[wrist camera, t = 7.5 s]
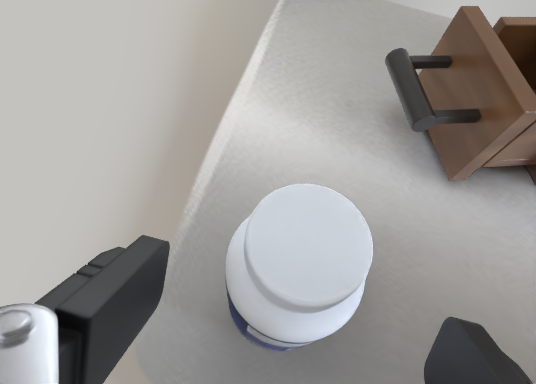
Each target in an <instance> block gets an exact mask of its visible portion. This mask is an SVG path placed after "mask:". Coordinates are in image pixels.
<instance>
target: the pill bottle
mask: <svg viewBox="0 0 536 384" xmlns="http://www.w3.org/2000/svg"><path fill="white" fill-rule="evenodd" d="M372 257H373V242H372V236H371V233H370V230H369V227H368V225H367V223H366V221H365V219H364V217H363V215H362V214H361V213H360V211H359V210H358V209H357V208H356V207H355V205H354V204H353V203H352V202H351V201H349V200H348V199H347V198H346V197H345V196H343V195H341V194H340V193H338V192H336V191H334V190H332V189H330V188H327V187H324V186H320V185H316V184H305V183H300V184H292V185H288V186H284V187H282V188H279V189H277V190H275V191H273V192H272V193H270V194H269V195H267V196H266V197H265V198H264V199H262V200H261V201H260V203H259V204H258V205H257V206H256V208H255V209H254V211H253V212H252V214H251V215H250V216H249V217H248V218H246V219H245V220H244V221H243V222H242V224H241V225H240V226H239V227H238V229H237V230H236V232H235V233H234V235H233V237H232V239H231V241H230V244H229V247H228V250H227V255H226V264H225V278H226V287H227V296H228V303H229V309H230V313H231V316H232V318H233V321H234V323H235V325H236V327H237V328H238V330H239V331H240V332H241V334H242V335H243V336H244V337H245V338H246V339H247V340H249V341H250V342H251V343H253V344H255V345H256V346H258V347H261V348H263V349H267V350H271V351H288V350H293V349H296V348H299V347H302V346H304V345H307V344H310V343H312V342H315V341H318V340H320V339H323V338H325V337H327V336H329V335H331V334H333V333H334V332H335V331H337V330H338V329H339V328H341V327H342V326H343V325H344V324H345V323H346V322H347V321H348V320H349V319H350V318H351V317H352V315H353V314H354V312H355V311H356V309H357V307H358V305H359V303H360V301H361V298H362V295H363V291H364V286H365V278H366V277H367V274H368V272H369V270H370V267H371V263H372Z"/></svg>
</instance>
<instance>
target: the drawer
mask: <svg viewBox="0 0 536 384" xmlns="http://www.w3.org/2000/svg"><path fill="white" fill-rule="evenodd" d="M385 63H386V66H387V68H388V71H389V73H390V76H391V79H392V81H393V84H394V86H395V89H396V91H397V94H398V96H399V99H400V102H401V104H402V107H403V109H404V112H405V114H406V117H407V120H408V122H409V125H410V127H411V129H412V130H413V131H415V132H421V131H425V130H428V132H429V134H430V137H431V139H432V141H433V144H434V146H435V149H436V151H437V153H438V156H439V158H440V161H441V163H442V165H443V168H444V170H445V172H446V175H447V177H448V180H449V181H451V180H465V179H466V178H467V177H469V176H470V175H471V174H472V173H473V172H474V171H476V170H477V169H478V168H479V167H480V166H481V167H497V166H515V165H533V164H536V17H501V18H500V19H499V20H498V21H497V23H496V24H495V25H494V27H493V28H492V27H491V25H490V24H489V22H488V20H487V19H486V17H485V16H484V14H483V13H482V11H481V10H480V8H479V7H478V6H461V7H460V9H459V10H458V12H457V14H456V15H455V17H454V18H453V20H452V22H451V23H450V25H449V27H448V28H447V30H446V31H445V33H444V35H443V36H442V38H441V40H440V41H439V43H438V44H437V46H436V48H435V49H434V51H433V53H432V54H431V56H409V55H408V52H407V50H405V49H403V48H398V49H395V50H393V51H391V52H390V53H389V54H388V55H387V56H386V59H385ZM415 69H422V70H421V72H420V74H419V75H417V73H416V70H415Z"/></svg>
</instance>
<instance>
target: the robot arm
mask: <svg viewBox="0 0 536 384" xmlns="http://www.w3.org/2000/svg"><path fill="white" fill-rule="evenodd" d="M169 249H170V245H169V242H168V241H164V240H160V239H156V238H153V237H149V236H145V235H142V236H141V237H139V238H138V239H137V240H136V241H134V242H133V243H132V244H131V245H130V246H128V247H127V248H126V249H125V248H122V247H117V248H114V249H111V250H109V251H106V252H103V253H101V254H99V255H98V256H96V257H95V258H94V259H92V260H91V261H90V262H89V263H88V265H85V266H83V267H82V268H81V269H79V270H78V271H77V273H76V274H75V273H74V274H73V275H71V276H70V277H69V278H67V279H66V280H65V281H63V282H62V283H61V284H59V285H58V286H57V287H55V288H54V289H53V290H51V291H50V292H49V293H48V294H46V295H45V296H44V297H42V298H41V299H40V300H38V301H37V302H35V303H34V304H13V305H7V306H3V307H0V384H103V383H104V381H105V380H106V378H107V377H108V375H109V374H110V372H111V371H112V370H113V369H114V367H115V366H116V364H117V363H118V361H119V360H120V359H121V357H122V356H123V354H124V353H125V352H126V350H127V349H128V347H129V346H130V345H131V343H132V342H133V340H134V339H135V338H136V336H137V335H138V333H139V332H140V331H141V329H142V328H143V326H144V325H145V324H146V322H147V321H148V319H149V318H150V317H151V315H152V314H153V312H154V311H155V309H156V308H157V305H158V303H159V301H160V298H161V295H162V292H163V287H164V281H165V274H166V268H167V262H168V256H169ZM424 379H425V384H533V383H532V382H531V380H530V379H529V378H528V377H527V375H526V374H525V373H524V372H523V370H522V369H521V368H520V367H519V365H518V364H516V363H515V362H514V361H513V360H512V359H511V358H509V357H508V356H507V355H506V354H505V353H504V352H502V351H501V349H500V348H499V347H498V346H497V344H496V343H495V342H494V341H493V339H492V338H491V337H490V335H489V334H488V333H487V332H486V330H485V329H484V328H483V327H482V326H481V325H480V324H477V323H473V322H469V321H465V320H462V319H458V318H454V317H448V318H447V319H446V320H445V321H444V322H443V324H442V326H441V329H440V331H439V333H438V335H437V337H436V340H435V342H434V344H433V346H432V349H431V351H430V353H429V355H428V357H427V360H426V363H425V367H424Z"/></svg>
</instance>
